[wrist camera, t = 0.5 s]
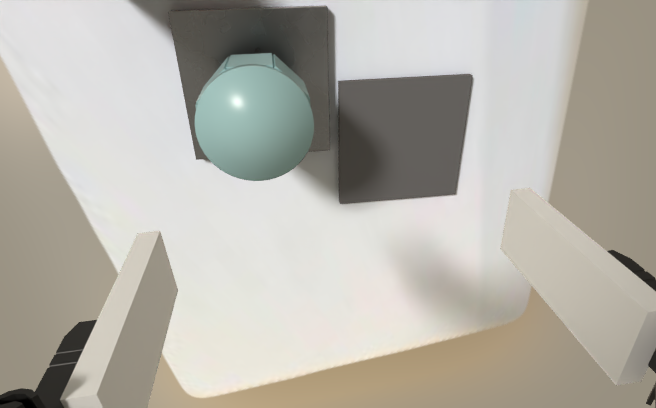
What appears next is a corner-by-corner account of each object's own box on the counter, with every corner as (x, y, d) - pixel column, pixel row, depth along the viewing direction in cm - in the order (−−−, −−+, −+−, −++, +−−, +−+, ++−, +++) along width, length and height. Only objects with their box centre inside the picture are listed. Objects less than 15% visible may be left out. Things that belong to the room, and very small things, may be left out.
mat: (338, 80, 37) (339, 82, 36) (469, 73, 38) (472, 75, 38) (339, 200, 43) (340, 203, 42) (452, 191, 44) (455, 194, 43)
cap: (195, 54, 29) (184, 70, 24) (304, 50, 29) (311, 64, 25) (214, 161, 33) (206, 191, 28) (309, 154, 33) (316, 183, 29)
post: (170, 10, 32) (137, 27, 24) (325, 5, 34) (346, 19, 25) (197, 155, 38) (179, 210, 30) (328, 146, 40) (346, 196, 31)
